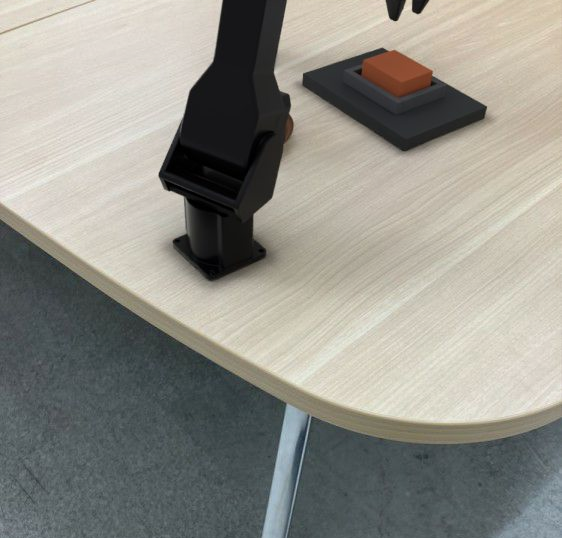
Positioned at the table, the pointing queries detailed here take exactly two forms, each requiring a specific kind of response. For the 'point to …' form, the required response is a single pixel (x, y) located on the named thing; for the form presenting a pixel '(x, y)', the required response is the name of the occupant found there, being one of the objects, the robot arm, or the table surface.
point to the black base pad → (394, 103)
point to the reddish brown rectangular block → (396, 73)
